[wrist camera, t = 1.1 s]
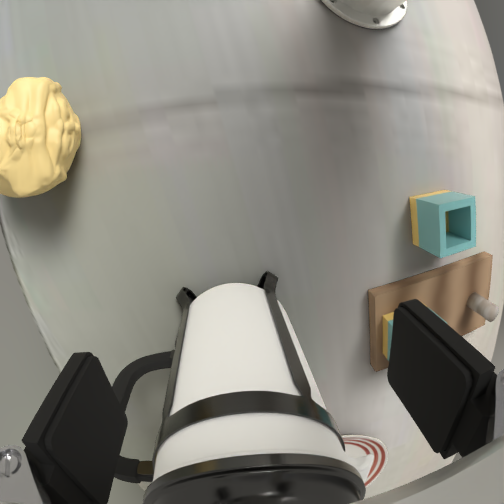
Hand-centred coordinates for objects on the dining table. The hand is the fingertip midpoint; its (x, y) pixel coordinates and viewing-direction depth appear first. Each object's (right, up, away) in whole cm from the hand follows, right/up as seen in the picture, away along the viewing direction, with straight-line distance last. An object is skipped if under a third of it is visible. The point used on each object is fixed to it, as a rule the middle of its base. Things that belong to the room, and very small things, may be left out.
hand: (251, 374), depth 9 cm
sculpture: (-23, +16, +20) cm, 34 cm away
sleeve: (+22, +8, +26) cm, 35 cm away
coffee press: (-3, -5, +28) cm, 29 cm away
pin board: (+26, -4, +30) cm, 40 cm away
